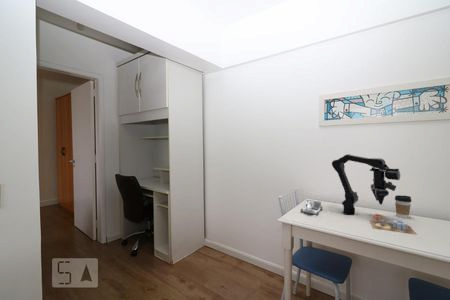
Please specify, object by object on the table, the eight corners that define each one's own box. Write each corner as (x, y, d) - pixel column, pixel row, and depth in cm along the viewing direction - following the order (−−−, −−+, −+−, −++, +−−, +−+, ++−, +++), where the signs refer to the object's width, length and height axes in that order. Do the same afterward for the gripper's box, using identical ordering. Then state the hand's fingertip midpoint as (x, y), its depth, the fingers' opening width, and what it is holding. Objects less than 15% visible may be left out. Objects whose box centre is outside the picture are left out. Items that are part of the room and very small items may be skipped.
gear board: (372, 230, 121) (372, 221, 121) (368, 222, 133) (368, 214, 132) (417, 237, 112) (418, 227, 112) (409, 228, 124) (409, 219, 124)
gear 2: (398, 230, 118) (398, 224, 118) (390, 225, 124) (390, 220, 124) (409, 230, 117) (410, 224, 117) (401, 225, 124) (401, 220, 123)
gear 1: (373, 221, 134) (373, 216, 133) (371, 218, 139) (371, 213, 139) (385, 223, 131) (385, 218, 131) (383, 220, 137) (383, 214, 136)
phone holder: (316, 203, 142) (299, 200, 149) (316, 217, 143) (299, 214, 150) (322, 197, 157) (306, 195, 164) (322, 210, 157) (306, 207, 164)
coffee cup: (412, 222, 133) (413, 198, 132) (395, 219, 137) (395, 196, 136) (409, 217, 140) (410, 195, 139) (393, 215, 144) (393, 193, 143)
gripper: (399, 181, 122) (399, 208, 123) (390, 176, 139) (390, 199, 139) (376, 180, 127) (376, 206, 127) (370, 175, 144) (370, 198, 144)
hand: (379, 202), depth 134 cm, fingers open, 9 cm apart
